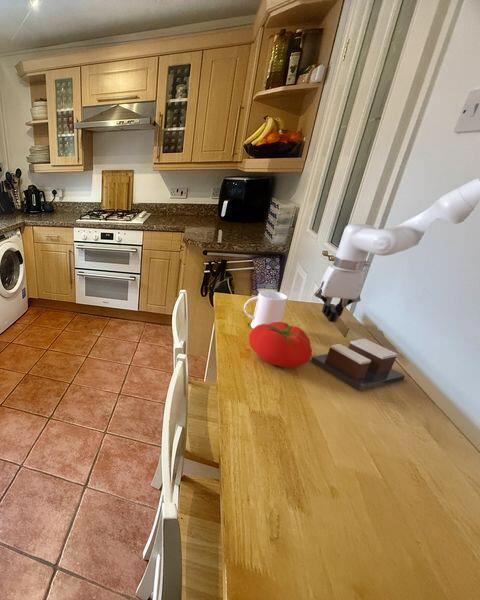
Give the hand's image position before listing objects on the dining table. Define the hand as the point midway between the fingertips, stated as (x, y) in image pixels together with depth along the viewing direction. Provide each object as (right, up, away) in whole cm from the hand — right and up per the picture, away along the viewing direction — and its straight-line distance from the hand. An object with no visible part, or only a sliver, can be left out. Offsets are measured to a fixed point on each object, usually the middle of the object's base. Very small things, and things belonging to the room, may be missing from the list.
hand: (330, 315), depth 109 cm
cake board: (-12, -14, -24) cm, 30 cm away
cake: (-9, -12, -24) cm, 28 cm away
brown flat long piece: (-2, -3, -4) cm, 5 cm away
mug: (-25, -4, -1) cm, 25 cm away
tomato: (-30, -12, -19) cm, 37 cm away
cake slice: (-17, -13, -26) cm, 33 cm away
